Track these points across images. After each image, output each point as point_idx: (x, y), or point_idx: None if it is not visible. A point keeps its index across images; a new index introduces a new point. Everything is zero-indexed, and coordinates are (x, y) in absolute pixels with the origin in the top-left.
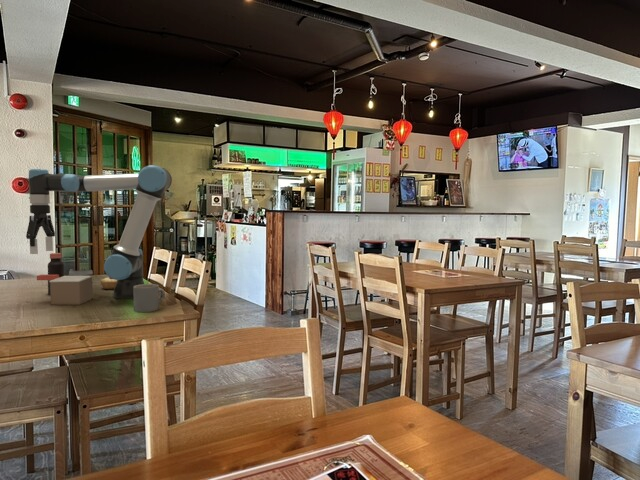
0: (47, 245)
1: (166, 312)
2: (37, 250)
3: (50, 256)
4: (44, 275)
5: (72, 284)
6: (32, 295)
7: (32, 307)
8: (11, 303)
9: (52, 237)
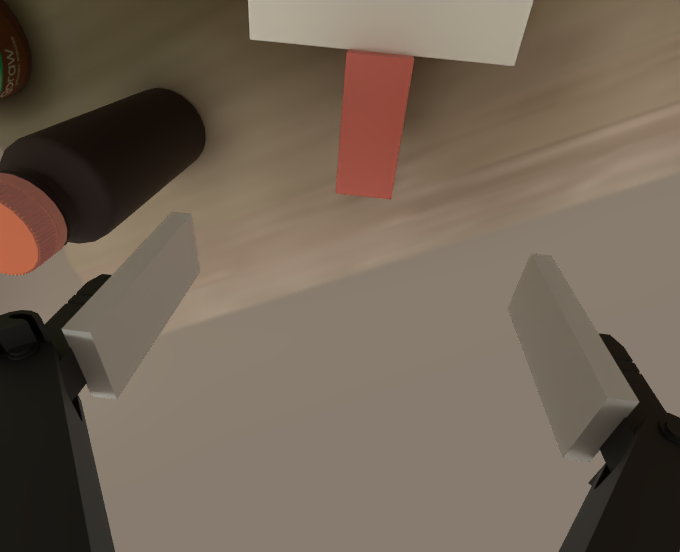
0: (170, 295)
1: None
2: (549, 276)
3: (52, 252)
4: (383, 152)
5: None
6: (216, 224)
7: (522, 118)
8: (397, 241)
9: (71, 319)
